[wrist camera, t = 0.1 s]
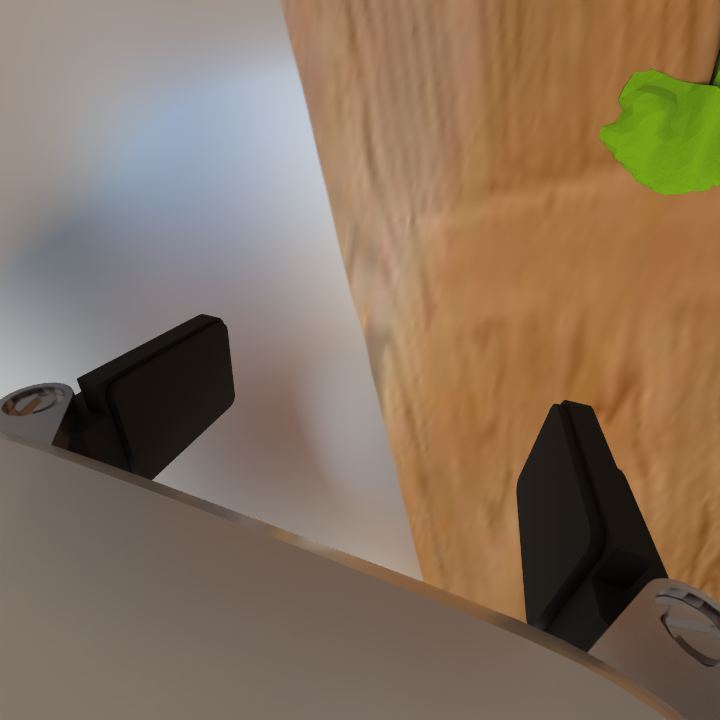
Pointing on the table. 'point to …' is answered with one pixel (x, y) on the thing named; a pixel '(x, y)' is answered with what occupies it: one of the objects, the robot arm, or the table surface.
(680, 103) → the cloth
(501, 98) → the table surface
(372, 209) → the table surface
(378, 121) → the table surface
